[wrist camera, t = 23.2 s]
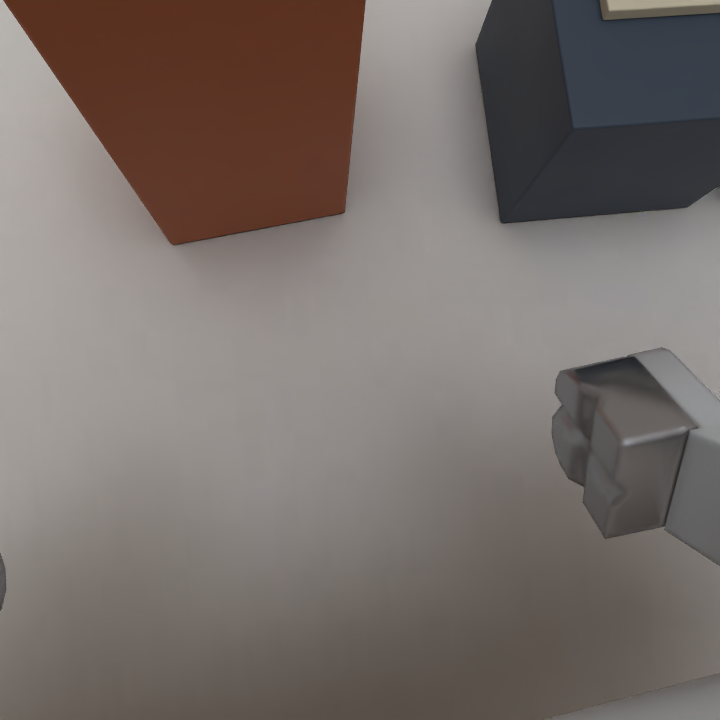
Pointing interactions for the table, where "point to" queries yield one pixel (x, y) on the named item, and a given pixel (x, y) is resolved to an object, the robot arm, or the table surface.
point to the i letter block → (213, 102)
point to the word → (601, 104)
